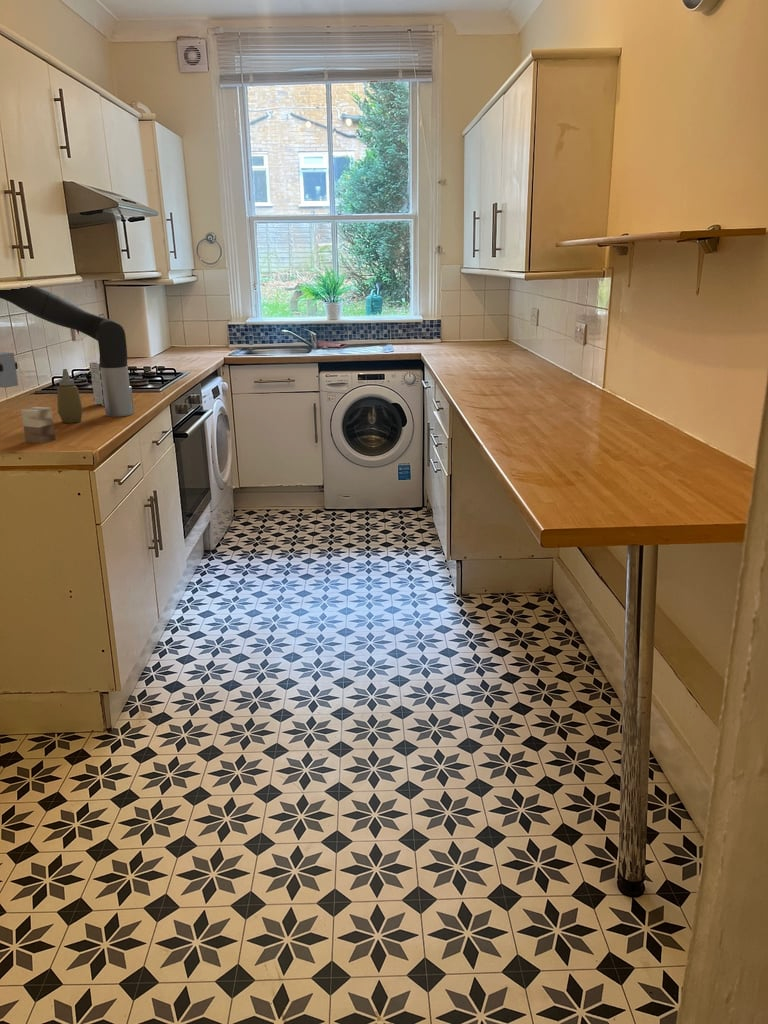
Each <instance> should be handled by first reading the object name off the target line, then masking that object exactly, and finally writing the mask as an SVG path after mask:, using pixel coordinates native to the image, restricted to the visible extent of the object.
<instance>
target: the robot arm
mask: <svg viewBox="0 0 768 1024" xmlns="http://www.w3.org/2000/svg"><path fill="white" fill-rule="evenodd" d="M0 299H2V300H5V301H7V302H9V303H12V305H14V306H16V307H18V308H20V309H22V311H23V310H24V311H25V312H27V313H29V314H30V315H33V316H35V317H37V318H40V319H42V320H44V321H47V322H49V323H52V324H55V325H56V326H60V327H63V328H68V329H70V330H71V329H72V330H76V331H77V332H80V333H82V334H84V335H86V336H88V337H90V338H92V339H93V340H95V341H97V344H98V353H99V360H98V361H99V362H100V369H101V377H102V386H103V395H104V403H105V406H104V409H105V416H106V417H112V418H113V417H127V416H131V415H133V414H134V413H135V408H134V407H135V406H134V399H133V398H134V397H133V388H132V386H131V384H129V382H130V374H129V375H128V373H129V367H128V366H127V365H128V347H127V338H126V337H127V336H126V331H125V329H124V327H123V326H122V324H120V323H119V322H117V321H115V320H112V319H109V318H106V317H102V316H100V315H96V314H93V313H90V312H89V311H86V310H84V309H82V308H81V307H79V306H78V305H75V304H74V303H72V302H71V301H69V300H67V299H65V298H63V297H61V296H59V295H58V294H54V293H52V292H50V291H48V290H45V289H42V288H40V287H38V286H34V285H31V286H30V287H27V288H20V289H11V290H0ZM15 367H16V370H18V362H17V361H15ZM1 371H3V365H2V364H0V372H1Z"/></svg>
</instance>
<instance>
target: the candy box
mask: <svg viewBox="0 0 768 1024" xmlns="http://www.w3.org/2000/svg"><path fill="white" fill-rule="evenodd" d="M127 366H128V364H127ZM89 368H90V369H89V370H90V378H91V387H92V394H93V395H92V396H93V402H94V405H95V406H102V407H105V403H104V395H103V386H102V377H101V369H100V362H99V360H97V361H92V362H89ZM128 375H129V376H130V374H129V372H128ZM129 384H130V381H129ZM130 385H131V384H130Z"/></svg>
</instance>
